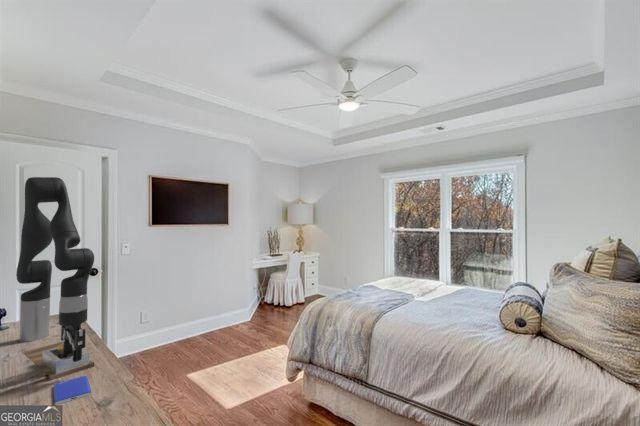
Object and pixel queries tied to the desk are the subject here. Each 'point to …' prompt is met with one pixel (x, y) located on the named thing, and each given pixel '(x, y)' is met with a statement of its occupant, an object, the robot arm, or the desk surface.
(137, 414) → the desk surface
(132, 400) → the desk surface
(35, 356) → the brown wooden board
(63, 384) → the hard drive
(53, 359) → the grey rectangular frame
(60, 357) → the post
